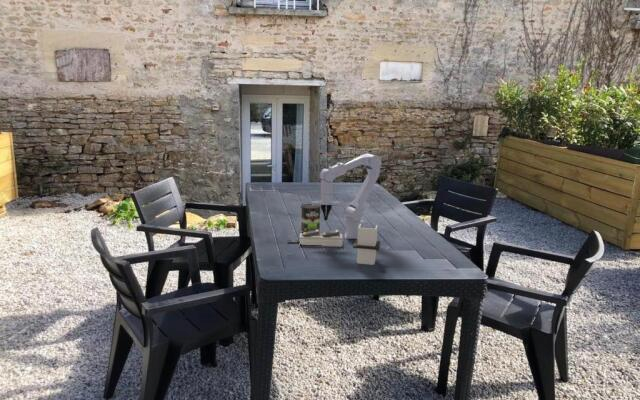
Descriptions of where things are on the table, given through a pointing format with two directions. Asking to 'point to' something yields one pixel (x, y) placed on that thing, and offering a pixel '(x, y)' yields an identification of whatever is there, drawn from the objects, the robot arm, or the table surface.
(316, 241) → the rocker switch box
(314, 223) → the coffee can
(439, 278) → the table surface
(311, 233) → the rocker
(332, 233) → the rocker
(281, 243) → the table surface
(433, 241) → the table surface
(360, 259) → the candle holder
